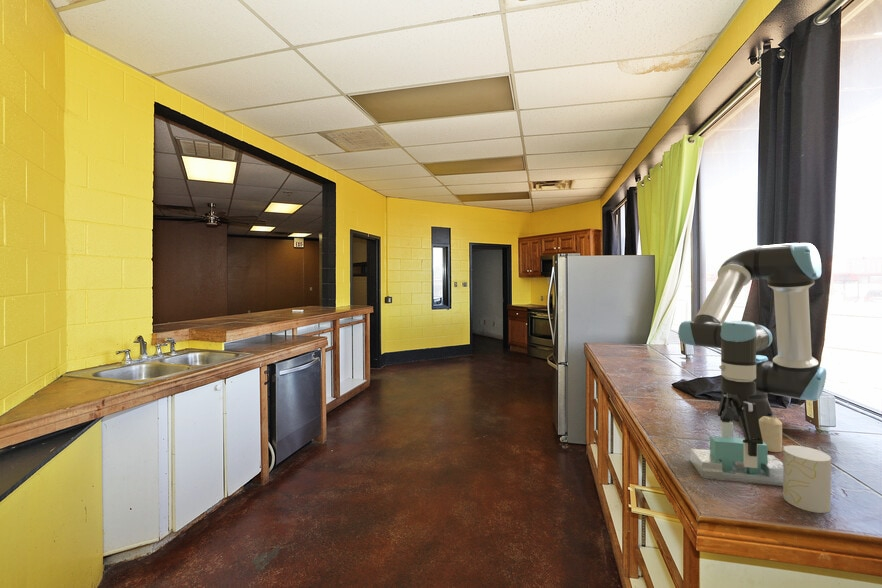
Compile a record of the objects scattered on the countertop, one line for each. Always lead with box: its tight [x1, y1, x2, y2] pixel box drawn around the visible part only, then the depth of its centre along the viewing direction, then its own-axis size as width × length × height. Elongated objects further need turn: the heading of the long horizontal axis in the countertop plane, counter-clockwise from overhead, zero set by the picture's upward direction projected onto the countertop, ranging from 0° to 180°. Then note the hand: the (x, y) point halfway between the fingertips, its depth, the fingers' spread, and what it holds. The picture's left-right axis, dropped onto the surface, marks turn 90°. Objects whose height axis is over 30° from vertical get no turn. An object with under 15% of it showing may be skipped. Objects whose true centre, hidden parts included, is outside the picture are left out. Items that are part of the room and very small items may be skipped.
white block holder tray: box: [689, 448, 783, 487], centre depth 105 cm, size 20×10×4 cm, turn 74°
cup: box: [782, 445, 832, 514], centre depth 91 cm, size 8×8×12 cm
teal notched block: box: [709, 435, 769, 474], centre depth 105 cm, size 12×4×8 cm, turn 74°
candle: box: [759, 416, 783, 453], centre depth 118 cm, size 6×6×10 cm
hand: (738, 455), depth 105 cm, fingers open, 13 cm apart
